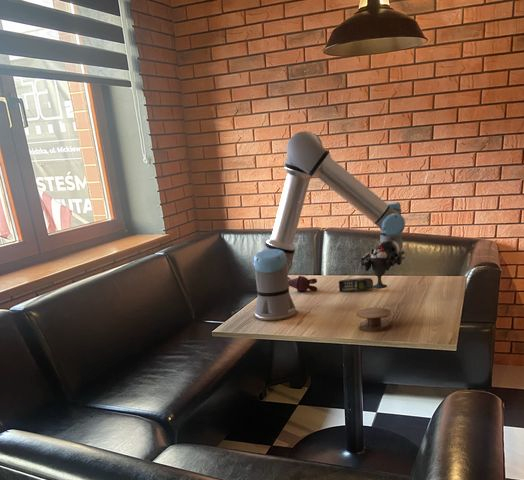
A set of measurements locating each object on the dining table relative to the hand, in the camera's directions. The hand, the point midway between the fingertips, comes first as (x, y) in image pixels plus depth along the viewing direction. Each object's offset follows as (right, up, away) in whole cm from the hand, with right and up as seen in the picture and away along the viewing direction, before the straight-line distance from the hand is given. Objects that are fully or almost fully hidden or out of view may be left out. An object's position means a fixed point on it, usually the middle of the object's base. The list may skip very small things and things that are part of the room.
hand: (376, 266), depth 169 cm
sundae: (+3, -6, +7) cm, 10 cm away
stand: (+1, -19, +6) cm, 20 cm away
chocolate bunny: (-20, -2, +59) cm, 62 cm away
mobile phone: (+3, -2, +51) cm, 51 cm away
